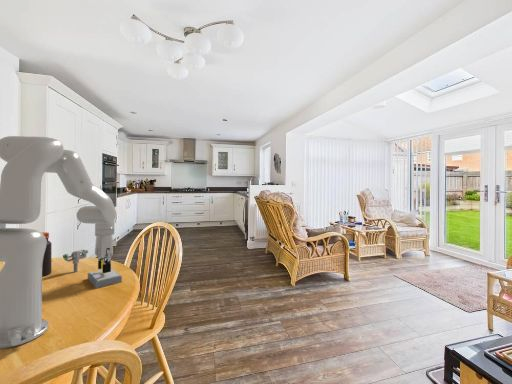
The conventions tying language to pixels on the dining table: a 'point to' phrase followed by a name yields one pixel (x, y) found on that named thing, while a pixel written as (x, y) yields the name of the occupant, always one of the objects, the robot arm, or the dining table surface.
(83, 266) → the dining table surface
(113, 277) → the stand
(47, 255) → the bottle
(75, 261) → the mechanical component
